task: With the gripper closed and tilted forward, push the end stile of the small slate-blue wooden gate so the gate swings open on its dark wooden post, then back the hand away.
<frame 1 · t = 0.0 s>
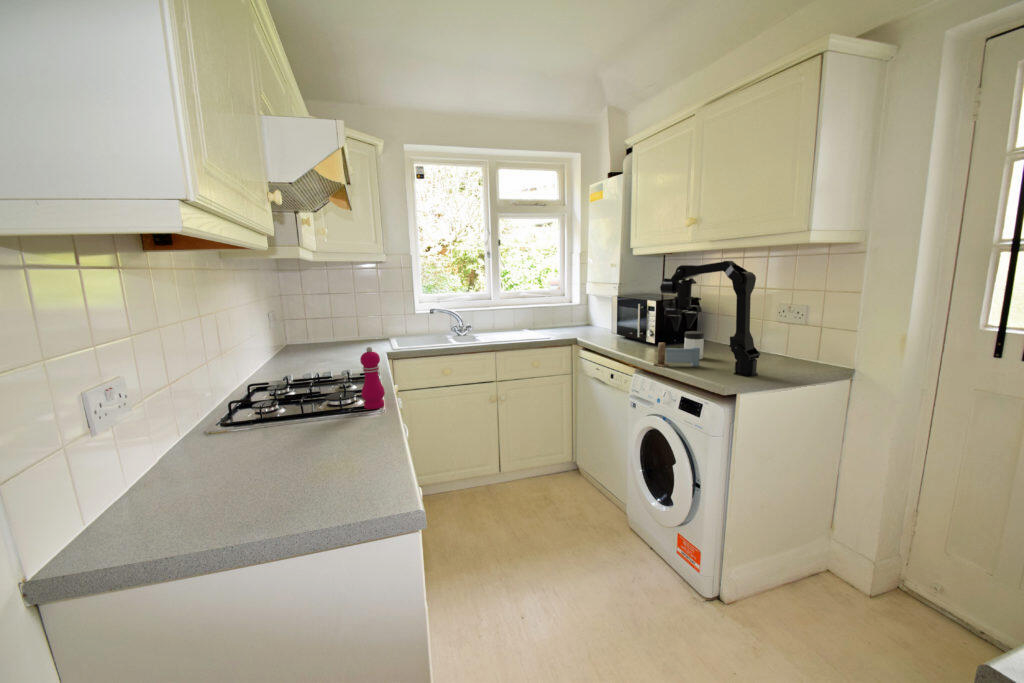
hand: (682, 329, 183), 15 cm above the countertop, tool pointing down, fingers open, 9 cm apart
pepper mill: (374, 406, 136), on the countertop
gate: (682, 356, 178), point 4 cm above the countertop, hinge at 0.0°
hinge post: (661, 365, 180), on the countertop
jar: (693, 358, 193), on the countertop
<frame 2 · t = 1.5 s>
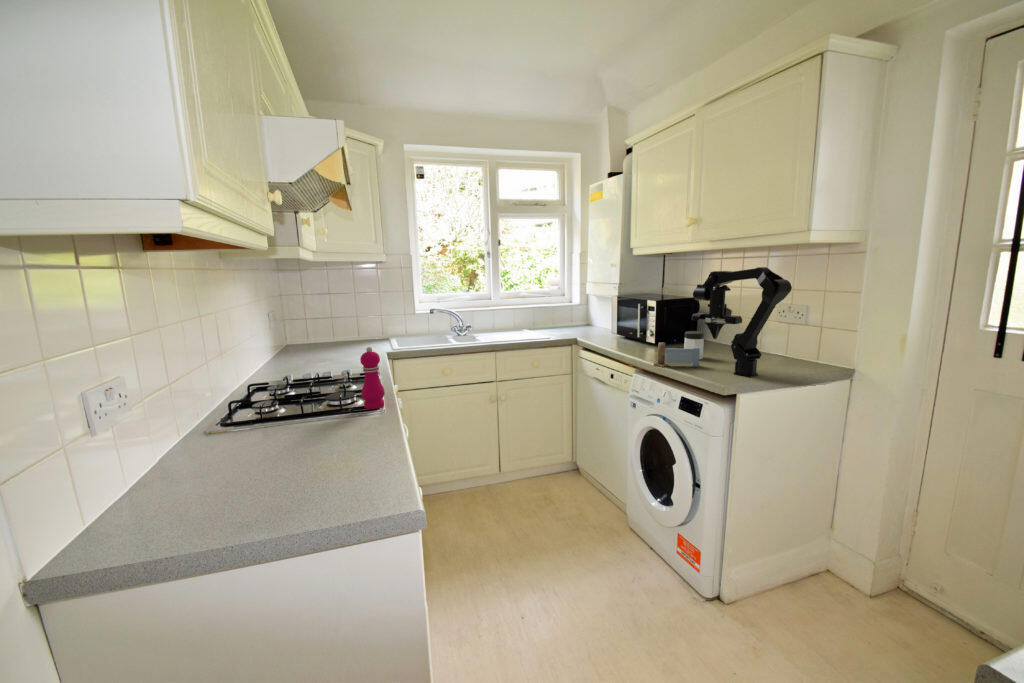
hand: (714, 338, 174), 12 cm above the countertop, tool pointing down, fingers closed
nothing on the countertop moved.
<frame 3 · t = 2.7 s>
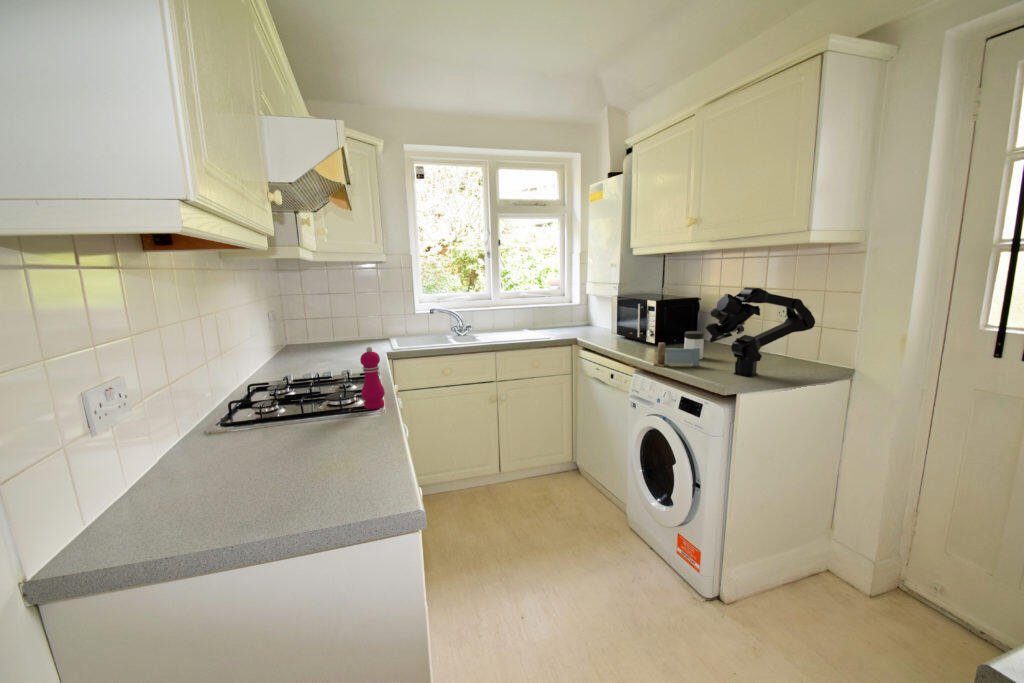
hand: (710, 341, 171), 12 cm above the countertop, tool tilted 45°, fingers closed
nothing on the countertop moved.
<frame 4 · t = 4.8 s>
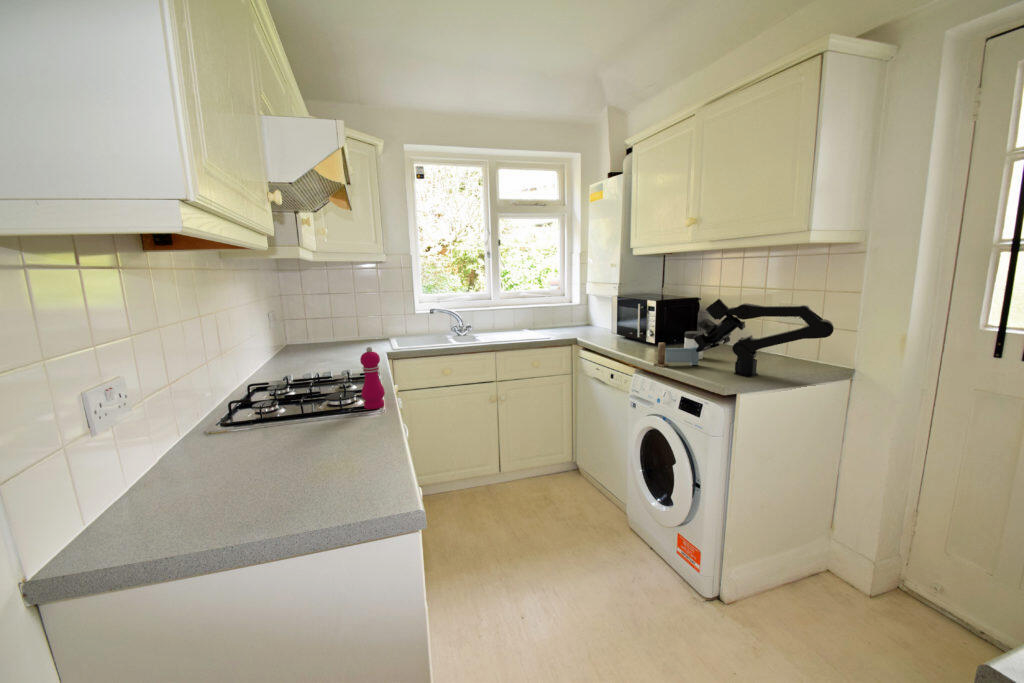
hand: (698, 351, 176), 7 cm above the countertop, tool tilted 45°, fingers closed
gate: (681, 356, 179), point 4 cm above the countertop, hinge at 6.1°, touching gripper
everything else where it was.
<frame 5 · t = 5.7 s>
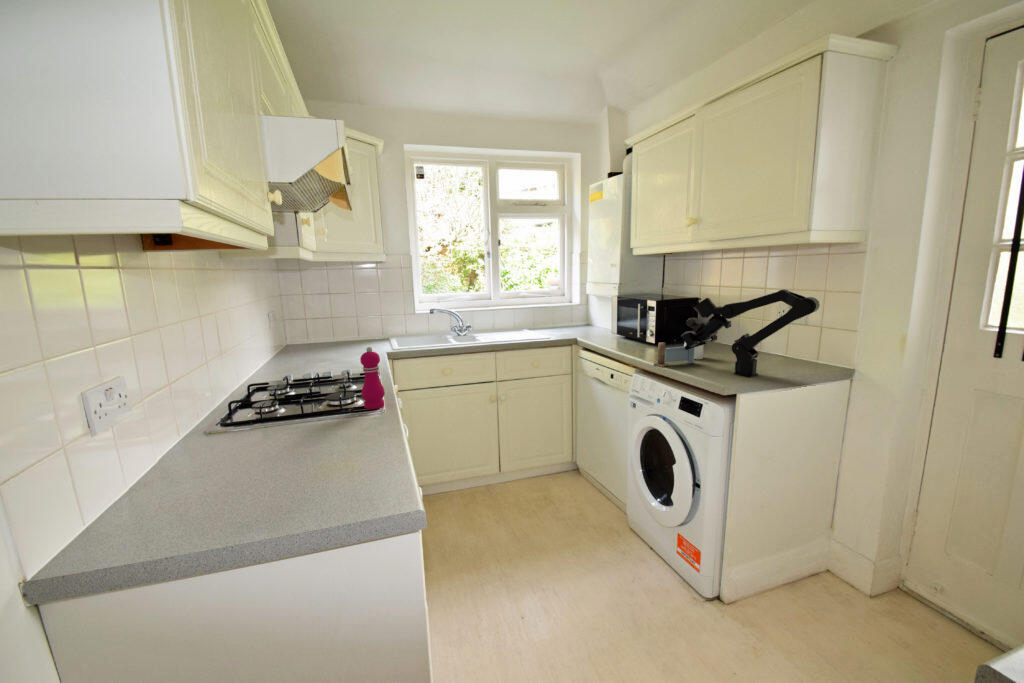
hand: (686, 348, 180), 7 cm above the countertop, tool tilted 45°, fingers closed
gate: (678, 354, 181), point 4 cm above the countertop, hinge at 23.5°, touching gripper
everything else where it was.
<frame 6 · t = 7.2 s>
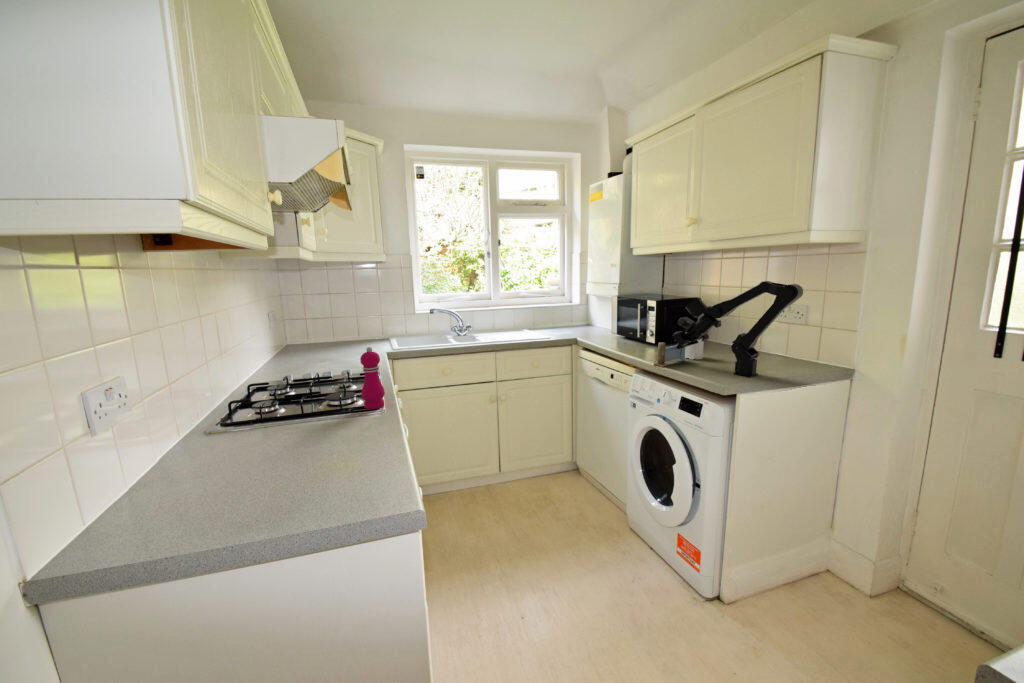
hand: (678, 348, 184), 7 cm above the countertop, tool tilted 45°, fingers closed on gate
gate: (673, 353, 184), point 4 cm above the countertop, hinge at 44.1°, touching gripper
everything else where it was.
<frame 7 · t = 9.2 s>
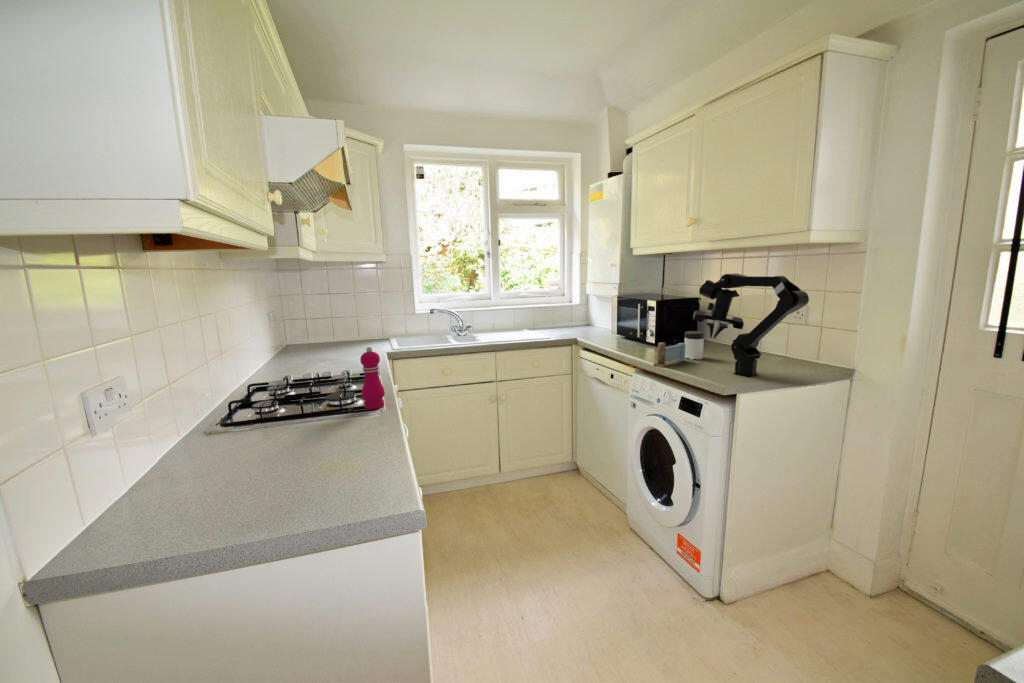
hand: (712, 337, 175), 12 cm above the countertop, tool tilted 20°, fingers closed
gate: (673, 353, 184), point 4 cm above the countertop, hinge at 44.1°
everything else where it was.
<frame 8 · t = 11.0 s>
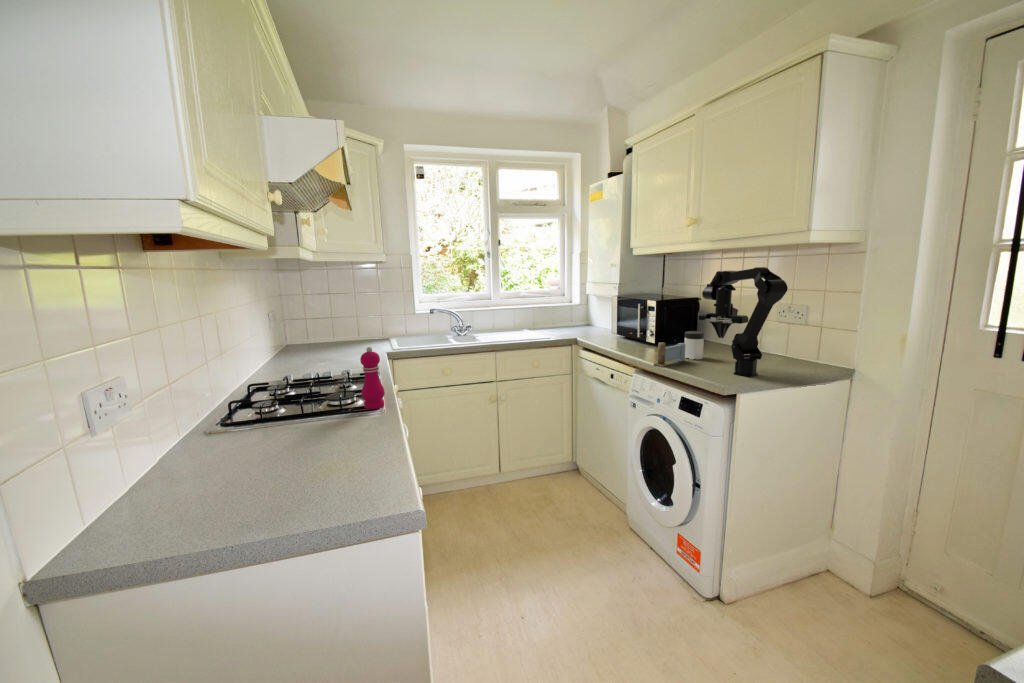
hand: (721, 338, 175), 12 cm above the countertop, tool pointing down, fingers closed
nothing on the countertop moved.
at the end: gate at +44° (first picture: +0°); gate touching nothing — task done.
